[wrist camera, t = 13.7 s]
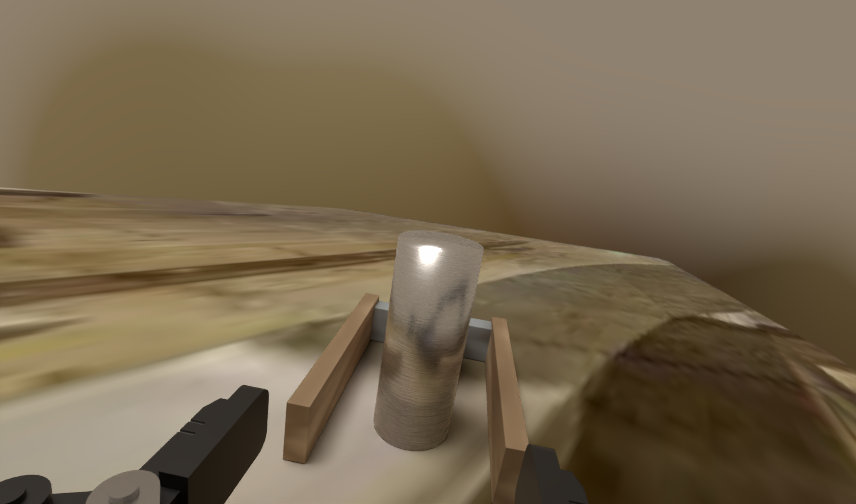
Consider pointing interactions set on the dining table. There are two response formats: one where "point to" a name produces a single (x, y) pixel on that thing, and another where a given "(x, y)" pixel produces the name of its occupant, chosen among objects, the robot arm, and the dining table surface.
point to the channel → (369, 323)
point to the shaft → (425, 337)
